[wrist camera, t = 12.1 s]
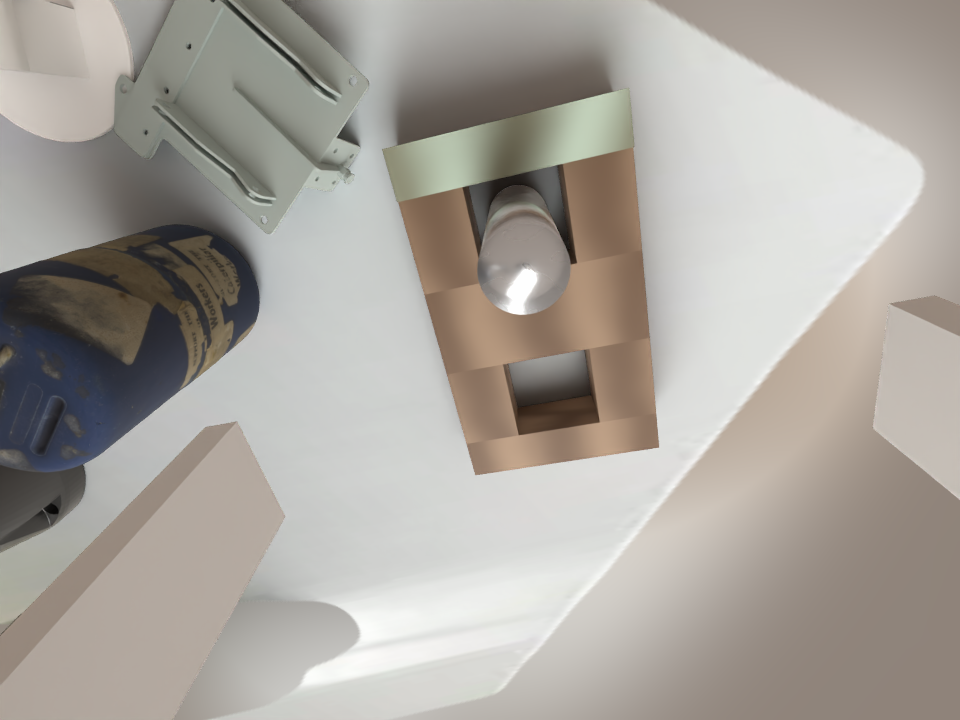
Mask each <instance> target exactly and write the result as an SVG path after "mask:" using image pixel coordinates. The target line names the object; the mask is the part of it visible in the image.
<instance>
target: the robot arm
mask: <svg viewBox="0 0 960 720" xmlns="http://www.w3.org/2000/svg"><path fill="white" fill-rule="evenodd" d="M873 429H874V430H876V431H877V432H878V433H879V434H880V435H882V436H883V437H884V438H885V439H887V440H888V441H889V442H890V443H891V444H893V445H894V446H895V447H896V448H898V449H899V450H900V451H901V452H902V453H904V454H905V455H906V456H907V457H909V458H910V459H911V460H912V461H913V462H914V463H916V464H917V465H918V466H919V467H921V468H922V469H923V470H924V471H926V472H927V473H928V474H929V475H930V476H932V477H933V478H934V479H935V480H936V481H938V482H939V483H940V484H941V485H943V486H944V487H945V488H946V489H948V490H949V491H950V492H951V493H952V494H954V495H955V496H956V497H957V498H958V499H960V305H958V304H955V303H953V302H950V301H947V300H945V299H942V298H940V297H937V296H929V297H924V298H918V299H913V300H907V301H901V302H896V303H890V304H889V307H888V315H887V322H886V330H885V338H884V346H883V354H882V361H881V369H880V377H879V385H878V393H877V399H876V407H875V415H874V423H873ZM84 490H85V473H84V468H83V465H79V466H77V467H74V468H71V469H66V470H62V471H55V472H32V471H24V470H18V469H14V468H10V467H6V466H3V465H0V553H1V552H3V551H5V550H7V549H9V548H11V547H13V546H15V545H17V544H19V543H21V542H24V541H26V540H28V539H30V538H32V537H34V536H36V535H38V534H40V533H42V532H44V531H46V530H48V529H50V528H51V527H53V526H54V525H56V524H57V523H58V522H59V521H60V520H62V519H63V518H64V517H65V516H66V515H67V514H68V513H69V512H71V511H72V510H73V509H74V508H75V507H76V506H77V505H78V504H79V502H80V501H81V499H82V497H83V494H84ZM284 518H285V515H284V513H283V511H282V509H281V507H280V505H279V503H278V501H277V499H276V497H275V495H274V493H273V491H272V489H271V487H270V485H269V483H268V481H267V480H266V478H265V476H264V474H263V472H262V470H261V468H260V466H259V464H258V462H257V460H256V458H255V456H254V454H253V452H252V450H251V448H250V446H249V444H248V442H247V440H246V438H245V436H244V434H243V432H242V430H241V428H240V426H239V424H238V422H231V423H226V424H220V425H215V426H209V427H205V428H204V429H203V430H202V431H201V432H200V433H199V434H198V435H197V436H196V437H195V438H194V439H193V440H192V441H191V442H190V443H189V444H188V445H187V446H186V447H185V448H184V449H183V451H182V452H181V453H180V454H179V455H178V456H177V457H176V458H175V459H174V460H173V461H172V462H171V463H170V464H169V465H168V466H167V467H166V468H165V469H164V470H163V471H162V472H161V473H160V474H159V475H158V476H157V477H156V478H155V479H154V480H153V481H152V482H151V483H150V484H149V485H148V486H147V487H146V488H145V489H144V490H143V491H142V492H141V493H140V494H139V495H138V496H137V497H136V498H135V499H134V500H133V501H132V502H131V503H130V504H129V505H128V506H127V507H126V508H125V509H124V510H123V511H122V513H121V514H120V515H119V516H118V517H117V518H116V519H115V520H114V521H113V522H112V523H111V524H110V525H109V526H108V527H107V528H106V529H105V530H104V531H103V532H102V533H101V534H100V535H99V536H98V537H97V538H96V539H95V540H94V541H93V542H92V543H91V544H90V545H89V546H88V547H87V548H86V549H85V550H84V551H83V552H82V553H81V554H80V555H79V556H78V557H77V558H76V559H75V560H74V561H73V562H72V563H71V564H70V565H69V566H68V567H67V568H66V569H65V570H64V571H63V572H62V573H61V575H60V576H59V577H58V578H57V579H56V580H55V581H54V582H53V583H52V584H51V585H50V586H49V587H48V588H47V589H46V590H45V591H44V592H43V593H42V594H41V595H40V596H39V597H38V598H37V599H36V600H35V601H34V602H33V603H32V604H31V605H30V606H29V607H28V608H27V609H26V610H25V611H24V612H23V613H22V614H21V615H19V616H18V617H17V618H16V619H15V620H14V622H13V623H12V624H11V625H10V626H9V627H8V628H7V629H6V630H5V631H4V632H3V633H2V634H1V635H0V720H173V718H174V716H175V715H176V713H177V711H178V709H179V707H180V706H181V704H182V702H183V700H184V698H185V697H186V695H187V693H188V691H189V689H190V688H191V686H192V684H193V682H194V680H195V679H196V677H197V675H198V673H199V671H200V670H201V668H202V666H203V664H204V662H205V661H206V659H207V657H208V655H209V653H210V652H211V650H212V648H213V646H214V644H215V642H216V641H217V639H218V637H219V635H220V634H221V632H222V630H223V628H224V626H225V625H226V623H227V621H228V619H229V617H230V616H231V614H232V612H233V610H234V608H235V606H236V605H237V603H238V601H239V599H240V598H241V596H242V594H243V592H244V590H245V589H246V587H247V585H248V583H249V581H250V580H251V578H252V576H253V574H254V572H255V571H256V569H257V567H258V565H259V563H260V562H261V560H262V558H263V556H264V554H265V553H266V551H267V549H268V547H269V545H270V543H271V542H272V540H273V538H274V536H275V534H276V533H277V531H278V529H279V527H280V525H281V524H282V522H283V520H284Z"/></svg>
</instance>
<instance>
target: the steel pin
mask: <svg viewBox="0 0 960 720" xmlns="http://www.w3.org/2000/svg"><path fill="white" fill-rule="evenodd" d="M570 271H571V265H570V258H569V254H568V252H567V249H566V247H565V245H564V243H563V240H562V238H561V236H560V234H559V232H558V229H557V227H556V225H555V223H554V221H553V219H552V216H551V214H550V212H549V210H548V208H547V206H546V203H545V201H544V199H543V198H542V196H541V195H540V194H539V193H538V192H537V191H536V190H534V189H533V188H531V187H528V186H524V185H513V186H510V187H507V188H505V189H503V190H502V191H501V192H499V193H498V194H497V195H496V197H495V198H494V199H493V201H492V203H491V206H490V210H489V214H488V219H487V223H486V228H485V232H484V237H483V241H482V246H481V251H480V255H479V260H478V266H477V275H478V281H479V284H480V287H481V289H482V291H483V293H484V294H485V296H486V297H487V298H488V299H489V301H490V302H492V303H493V304H494V305H495V306H497V307H498V308H500V309H502V310H503V311H506V312H509V313H513V314H519V315H527V314H533V313H537V312H540V311H542V310H544V309H546V308H548V307H550V306H551V305H552V304H554V303H555V302H556V301H557V300H558V299H559V298H560V296H561V295H562V294H563V292H564V291H565V289H566V287H567V285H568V282H569V278H570Z"/></svg>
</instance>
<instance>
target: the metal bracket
mask: <svg viewBox="0 0 960 720" xmlns="http://www.w3.org/2000/svg"><path fill="white" fill-rule="evenodd" d="M189 44H191V49H190V50H189V49H188V46H189ZM353 76H355V77H356V78H357V83H356V84H355V85H354V86H352V85H351V84H350V79H351V77H353ZM124 85H125V86H126V88H127V92H126V93H125V94H124V93H123V91H122V88H123V86H124ZM167 88H168V89H169V93H168V94H167V93H166V90H167ZM368 88H369V81H368V80H367V79H366V78H365V77H364V76H363V75H362V74H361V73H360V72H359V71H358V70H357V69H356V68H355V67H353V66H352V65H351V64H350V63H349V62H348V61H347V60H346V59H345V58H344V57H343V56H342V55H341V54H339V53H338V52H337V51H336V50H335V49H334V48H333V47H332V46H331V45H330V44H329V43H328V42H326V41H325V40H324V39H323V38H322V37H321V36H320V35H319V34H318V33H317V32H316V31H315V30H314V29H312V28H311V27H310V26H309V25H308V24H307V23H306V22H305V21H304V20H303V19H302V18H301V17H300V16H298V15H297V14H296V13H295V12H294V11H293V10H292V9H291V8H290V7H289V6H288V5H287V4H286V3H284V2H283V1H282V0H215V1H214V2H212V0H175V1H174V3H173V5H172V7H171V10H170V12H169V14H168V16H167V18H166V20H165V22H164V24H163V26H162V28H161V30H160V33H159V35H158V37H157V39H156V41H155V43H154V45H153V47H152V49H151V51H150V53H149V56H148V58H147V60H146V62H145V64H144V66H143V68H142V70H141V72H140V74H139V76H138V79H137V81H136V82H133V81H132V80H131V79H130V78H129V77H127V76H126V75H120V76H119V78H118V80H117V82H116V84H115V107H114V132H115V133H116V135H118V136H119V137H120V138H121V139H122V140H123V141H124V142H125V143H126V144H127V145H128V146H129V147H130V148H132V149H133V150H134V151H135V152H136V153H137V154H138V155H139V156H140V157H142V158H145V159H147V160H151V159H152V158H153V156H154V154H155V152H156V150H157V148H158V147H159V145H160V143H161V141H162V140H163V139H165V140H166V141H167V142H168V143H170V144H171V145H172V146H173V147H174V148H175V149H176V150H177V151H178V152H179V153H180V154H181V155H182V156H183V157H185V158H186V159H187V160H188V161H189V162H190V163H191V164H192V165H193V166H194V167H195V168H196V169H197V170H199V171H200V172H201V173H202V174H203V175H204V176H205V177H206V178H207V179H208V180H209V181H210V182H211V183H213V184H214V185H215V186H216V187H217V188H218V189H219V190H220V191H221V192H222V193H223V194H224V195H225V196H227V197H228V198H229V199H230V200H231V201H232V202H233V203H234V204H235V205H236V206H237V207H238V208H239V209H240V210H242V211H243V212H244V213H245V214H246V215H247V216H248V217H249V218H250V219H251V220H252V221H253V222H254V223H256V224H257V225H258V226H259V227H260V228H261V229H262V230H263V231H264V232H265V233H267V234H273V233H274V232H275V230H276V229H277V227H278V226H279V224H280V223H281V221H282V220H283V218H284V217H285V215H286V214H287V212H288V211H289V209H290V208H291V206H292V204H293V203H294V201H295V200H296V198H297V197H298V195H299V194H300V192H301V191H302V189H303V188H304V187H306V188H312V189H317V190H323V191H329V192H330V191H332V190H333V189H334V188H335V186H336V185H337V184H338V182H339V181H340V179H341V180H344V181H345V182H344V183H346V184H350V183H351V182H352V181H353V179H354V176H355V175H354V174H352V173H350V172H351V171H350V170H349V169H348V167H349V166H350V164H351V163H352V161H353V160H354V159H355V157H356V156H357V154H358V153H359V151H360V147H359V146H358V145H356V144H353V143H351V142H348V141H345V140H343V139H340V138H338V137H337V136H338V134H339V133H340V131H341V130H342V128H343V127H344V125H345V124H346V122H347V120H348V119H349V117H350V116H351V114H352V113H353V111H354V110H355V108H356V107H357V105H358V104H359V102H360V101H361V99H362V98H363V96H364V95H365V93H366V91H367V90H368ZM146 130H147V131H148V134H147V135H146V134H145V132H146ZM263 216H266V217H267V220H268V221H267V223H266V224H264V223H263V222H262V217H263Z"/></svg>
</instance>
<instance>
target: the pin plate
mask: <svg viewBox="0 0 960 720" xmlns="http://www.w3.org/2000/svg"><path fill="white" fill-rule="evenodd" d="M633 147H634V138H633V126H632V114H631V103H630V91H629V88H626V89H622V90H618V91H614V92H610V93H606V94H602V95H598V96H594V97H590V98H586V99H582V100H578V101H574V102H570V103H566V104H562V105H558V106H554V107H550V108H546V109H542V110H538V111H534V112H530V113H526V114H522V115H518V116H514V117H510V118H506V119H502V120H498V121H494V122H490V123H486V124H482V125H478V126H474V127H470V128H466V129H462V130H458V131H454V132H450V133H446V134H442V135H438V136H434V137H430V138H426V139H422V140H418V141H414V142H410V143H406V144H402V145H398V146H394V147H390V148H386V149H382V151H383V154H384V158H385V161H386V165H387V168H388V172H389V175H390V179H391V182H392V186H393V189H394V193H395V196H396V200H397V202H398V203H399V206H400V210H401V214H402V217H403V221H404V224H405V228H406V231H407V235H408V238H409V242H410V245H411V249H412V252H413V256H414V260H415V263H416V267H417V270H418V274H419V277H420V281H421V284H422V288H423V291H424V295H425V298H426V302H427V306H428V309H429V313H430V316H431V320H432V323H433V327H434V330H435V334H436V337H437V341H438V344H439V348H440V351H441V355H442V359H443V362H444V366H445V369H446V373H447V376H448V380H449V383H450V387H451V390H452V394H453V397H454V401H455V405H456V408H457V412H458V415H459V419H460V422H461V426H462V429H463V433H464V436H465V440H466V443H467V447H468V451H469V454H470V458H471V461H472V465H473V468H474V472H475V475H480V474H487V473H493V472H500V471H506V470H513V469H520V468H526V467H533V466H540V465H546V464H553V463H559V462H566V461H573V460H579V459H586V458H592V457H599V456H606V455H612V454H619V453H626V452H632V451H639V450H645V449H652V448H659V441H658V429H657V418H656V406H655V395H654V383H653V372H652V360H651V348H650V337H649V325H648V314H647V302H646V291H645V279H644V268H643V256H642V244H641V233H640V221H639V210H638V198H637V187H636V175H635V163H634V152H633ZM555 165H557V167H558V174H559V180H560V187H561V194H562V201H563V207H564V214H565V221H566V228H567V234H568V241H569V248H570V249H567V252H568V254H569V258H570V265H571V271H570V278H569V282H568V285H567V287H566V289H565V291H564V292H563V294H562V295H561V296H560V298H559V299H558V300H557V301H556V302H555V303H554V304H552V305H551V306H550V307H548V308H546V309H544V310H542V311H540V312H537V313H533V314H527V315H519V314H513V313H509V312H506V311H503V310H502V309H500V308H498V307H497V306H495V305H494V304H493V303H492V302H490V301H489V299H488V298H487V297H486V296H485V294H484V293H483V291H482V289H481V287H480V284H479V281H478V275H477V266H478V260H479V255H480V251H481V241H480V237H479V232H478V228H477V223H476V219H475V214H474V210H473V205H472V201H471V196H470V192H469V187H468V186H469V185H474V184H478V183H482V182H487V181H491V180H495V179H499V178H504V177H508V176H512V175H517V174H521V173H525V172H529V171H534V170H538V169H542V168H547V167H551V166H555ZM580 350H585V356H586V363H587V370H588V376H589V383H590V390H591V395H590V396H584V397H578V398H572V399H566V400H560V401H554V402H548V403H543V404H537V405H531V406H525V407H519V408H518V407H517V403H516V398H515V394H514V389H513V385H512V380H511V376H510V371H509V367H508V363H514V362H519V361H525V360H530V359H536V358H541V357H547V356H552V355H558V354H563V353H569V352H574V351H580Z"/></svg>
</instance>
